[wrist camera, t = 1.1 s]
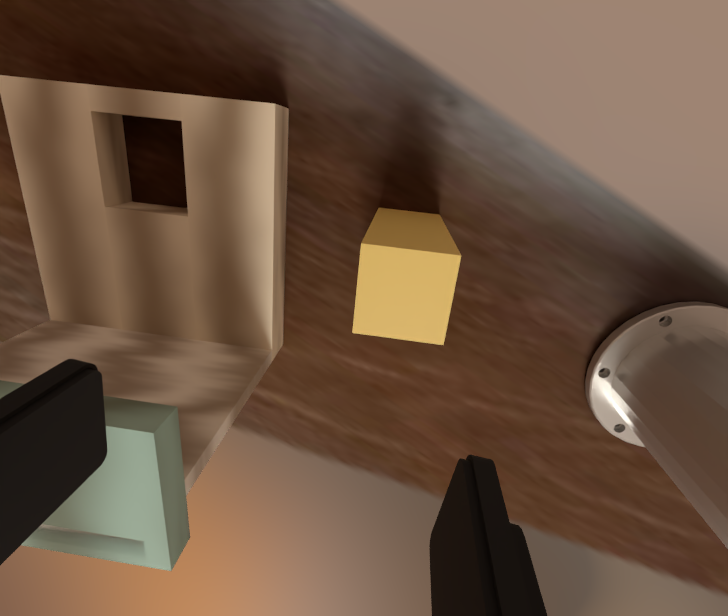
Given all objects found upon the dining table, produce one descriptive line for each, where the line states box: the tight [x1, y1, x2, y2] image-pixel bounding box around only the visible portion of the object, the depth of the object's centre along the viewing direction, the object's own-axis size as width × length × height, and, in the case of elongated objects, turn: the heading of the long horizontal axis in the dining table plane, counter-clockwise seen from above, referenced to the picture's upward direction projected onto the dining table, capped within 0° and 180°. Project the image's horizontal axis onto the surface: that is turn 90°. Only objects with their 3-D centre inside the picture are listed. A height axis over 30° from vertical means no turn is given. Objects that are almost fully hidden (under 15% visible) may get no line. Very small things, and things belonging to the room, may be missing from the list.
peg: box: [352, 208, 461, 345], centre depth 24 cm, size 4×4×12 cm
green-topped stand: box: [0, 75, 289, 571], centre depth 22 cm, size 20×18×19 cm
